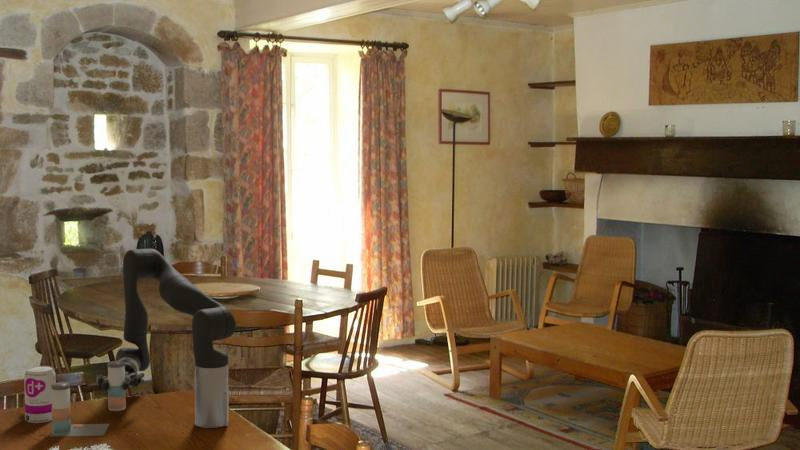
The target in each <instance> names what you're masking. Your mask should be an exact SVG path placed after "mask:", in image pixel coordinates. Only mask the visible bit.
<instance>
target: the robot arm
mask: <svg viewBox="0 0 800 450" xmlns="http://www.w3.org/2000/svg"><path fill="white" fill-rule="evenodd" d="M122 276H123V278H122V279H123V293H124V305H125V310H124V312H125V313H124V327H123V340H124V341H125V342H127V343H130V344H133V345H135V346H136V348H135V347H122V348H120V349H118V350H117V352H116V356H115V361H124V362H125V381H124V390H126V391H127V390H128V389H130V388H131V387H132V386H133V387H135V388H136V387H139V386H141V385H142V384H143V383H145V373H144V371H146V370H147V369H148V368H149V367H150V364H151V356H150V355H151V354H150V350H149V346H148V340H147V338H148V337H147V335H148V334H147V333H148V323H149V315H148V311H147V309H146V306H145V305H144V303H143V301H142V299H141V297H140V294H139V291H138V280H139V279H140V280H141V279H155V280H157V281H158V282H159V283H158V292H159V296H160V298H161V299H162V300H163V301H164V302H165V303H166V304H167V305H169V307H171V308H172V309H174V310H175V311H177V312H180V313H182V314H186V315H189V316H192V319H191V320H192V322H191V330H192V331H191V333H192V351H193V352H192V353H193V357H194V424H195V426H196V427H199V428H202V429H217V428H221V427H228V425H229V396H230V395H229V394H230V393H229V391H230V389H229V356H228V354H227V353H226V352H225V351H221V350H217V349H215V348H214V343H213V342H215V341H222V340H226V339H229V338H230V337H232V336H233V335H234V334H235V333H236V331H237V322H236V319H235V317H234V315H233V313H232V312H231V310H230V309H229V308H227V307H226V306H224V305H223V304H221V303H220V302H219V301H216V300H214V299H213V298H211V297H210V296H208V295H207V293H205V292H203V291H202V290H201V289H199V288H198V287H197V286H196V285H195V284H194V283H193V282H192V281H190V279H188V278H187V277H185V276H184V275H183V274H181V273H180V272H179V271H178V270H177V269H176V268H175V267H174V266H173V265H172V264H170V263H169V261H168V260H167V259H166V258H165V256H163V255H162V254H161V252H159V251H158V249H154V248H137V249H136V248H134V249H129V250H127V251H126V252H125V254H124V256H123V261H122ZM139 372H141V373H139ZM96 384H97V387H98V388H100V389H102V390H103V391H107V392H108V373H107V374H106V375H104V374H103V375H102V374H100V373H97V374H96Z"/></svg>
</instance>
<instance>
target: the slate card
mask: <svg viewBox="0 0 800 450" xmlns="http://www.w3.org/2000/svg"><path fill="white" fill-rule="evenodd" d="M109 426H110V423H84V424H83V423H81V424H79V423H75V424H71V430H70V433H69V434H66V435H53V434H52V432H51V433H50V434H49V435H48V436H49V437H52V438H53V437H84V436H85V437H87V436H88V437H89V436H90V437H91V436H93V437H94V436H99V437H100V436H104V435H105V433H106V432H107V429H108V428H109Z"/></svg>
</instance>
